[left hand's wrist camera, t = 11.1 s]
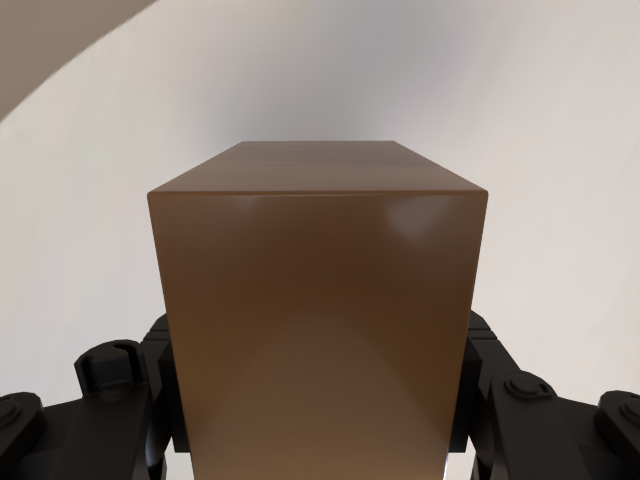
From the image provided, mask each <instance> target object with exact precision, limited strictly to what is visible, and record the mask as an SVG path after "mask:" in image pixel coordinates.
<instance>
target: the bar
mask: <svg viewBox="0 0 640 480" xmlns="http://www.w3.org/2000/svg"><path fill="white" fill-rule="evenodd" d="M147 200H148V206H149V212H150V218H151V224H152V230H153V235H154V241H155V247H156V253H157V259H158V265H159V271H160V277H161V283H162V289H163V295H164V301H165V307H166V313H167V319H168V325H169V331H170V337H171V343H172V349H173V355H174V360H175V366H176V372H177V378H178V384H179V390H180V396H181V402H182V408H183V414H184V420H185V426H186V432H187V438H188V444H189V450H190V456H191V462H192V468H193V474H194V480H444V479H445V473H446V466H447V460H448V453H449V447H450V441H451V434H452V428H453V421H454V415H455V408H456V402H457V395H458V389H459V382H460V376H461V369H462V363H463V356H464V350H465V344H466V337H467V331H468V324H469V318H470V311H471V305H472V298H473V292H474V285H475V279H476V272H477V266H478V259H479V253H480V247H481V240H482V234H483V227H484V221H485V214H486V208H487V201H488V191H487V190H485V189H483V188H481V187H479V186H477V185H475V184H474V183H472V182H470V181H468V180H466V179H464V178H462V177H460V176H459V175H457V174H455V173H453V172H451V171H449V170H447V169H445V168H444V167H442V166H440V165H438V164H436V163H434V162H432V161H430V160H429V159H427V158H425V157H423V156H421V155H419V154H417V153H415V152H414V151H412V150H410V149H408V148H406V147H404V146H402V145H401V144H399V143H397V142H395V141H243V142H241V143H239V144H237V145H235V146H233V147H231V148H230V149H228V150H226V151H224V152H222V153H220V154H219V155H217V156H215V157H213V158H211V159H209V160H207V161H206V162H204V163H202V164H200V165H198V166H196V167H195V168H193V169H191V170H189V171H187V172H185V173H183V174H182V175H180V176H178V177H176V178H174V179H172V180H171V181H169V182H167V183H165V184H163V185H161V186H159V187H158V188H156V189H154V190H152V191H150V192H148V194H147Z"/></svg>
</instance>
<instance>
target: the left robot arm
mask: <svg viewBox="0 0 640 480" xmlns="http://www.w3.org/2000/svg"><path fill="white" fill-rule="evenodd" d="M74 366H75V370H76V373H77V377H78V380H79V384H80V387H81V391H82V394H83V397H82V398H81V399H78V400H74V401H70V402H66V403H61V404H57V405H52V406H48V407H43V405H42V402H41V399H40V397H38V396H37V395H36V394H35V393H29V392H19V393H13V394H8V395H5V396H3V397H0V480H166V472H167V465H166V459H165V454H164V453H165V450H166V448H167V446H168V443H169V441H170V439H171V437H172V440H173V445H174V450H175V453H190V450H189V444H188V438H187V432H186V426H185V420H184V414H183V408H182V402H181V396H180V390H179V384H178V378H177V372H176V366H175V360H174V355H173V349H172V343H171V337H170V331H169V325H168V319H167V313H165V314H164V315H163V316H161V317H160V318H158V319H157V320H156V322H155V323H154V325H153V326H152V327H151V329H150V332H148V333H147V334H146V336H145V337H144V338H143V341H141V343H140V344H139V343H138V342H137V341H132V340H128V339H126V340H114V341H110V342H106V343H102V344H100V345H98V346H96V347H93V348H91V349H89V350H88V351H87V352H85V353H84V354H82V355H81V356H80V357H79V358H78V359H77V361H76V362H75V363H74ZM468 436H470V439H471V441H472V443H473V446H474V448H475V450H476V454H475V459H474V464H473V469H472V474H471V478H470V480H640V395H638V394H634V393H631V392H625V391H619V390H615V391H608V392H606V393H604V394H603V395H602V396H601V397H600V400H599V403H598V406H595V405H591V404H586V403H582V402H577V401H573V400H568V399H565V398H561V397H558V396H557V394H556V393H555V391H554V390H553V388H552V387H551V386H550V385H549V384H548V383H546V382H545V381H544V380H543V379H541V378H539V377H537V376H536V375H534V374H532V373H529V372H526V371H522V370H520V368H519V367H518V365H517V364H516V363H515V361H514V360H513V359H512V357H511V356H510V354H509V353H508V352H507V350H506V349H505V348H504V346H503V345H502V343H501V342H500V341H499V340H497V337H496V335H495V334H494V332H493V331H491V328H490V327H489V326H488V324H487V323H486V321H485V320H484V319H483V318H482V317H481V316H479V315H478V314H477V313H475V312H474V311H472V310H471V311H470V318H469V324H468V331H467V337H466V344H465V350H464V356H463V363H462V369H461V376H460V382H459V389H458V395H457V402H456V408H455V415H454V421H453V428H452V434H451V441H450V447H449V453H465V451H466V446H467V441H468Z"/></svg>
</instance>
